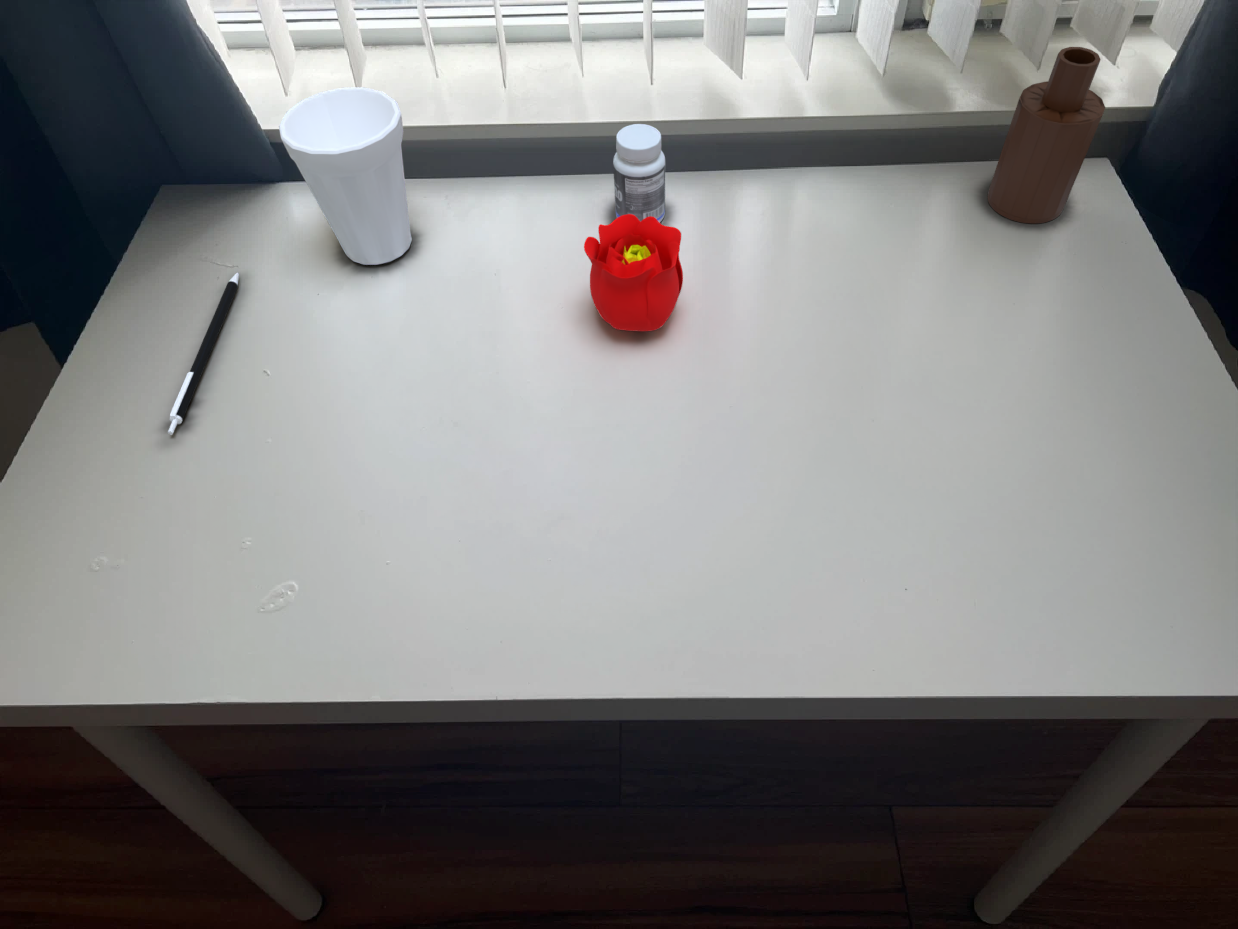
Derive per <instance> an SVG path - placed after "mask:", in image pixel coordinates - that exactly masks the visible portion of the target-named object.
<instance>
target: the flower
mask: <svg viewBox="0 0 1238 929" xmlns="http://www.w3.org/2000/svg"><path fill="white" fill-rule="evenodd" d="M597 228H598V237H599V238H596V237H594V236H587V237H586V238H585V241H584V243H583V250H584V253H585V254H586V256H587V258H588V259H589V261H590V263H591V266H590V273H589V289H590V295H591V299H592V302H593V305H594V306H595V309H596V310H597V312H598V314H599V316H600V317H601V318H602V320H603V321H605V322H606V323H607V324H608V325H610V326H611V327H612V328H613V329H615V330H619V331H620V330H621V331H629V332H652V331H657V330H658V329H660V328H662V327H663V326H664V325H665V323H666V322H667V321H668V320H669V318H670V317H671V315H672V313H673V311H674V309H675V307H676V305H677V303H678V299H679V296H680V294H681V292H682V288H683V283H684V273H683V272H684V271H683V267H682V263H681V260H680V249H681V247H680V246H681V242H682V232H681V230H679V229H678V228H677V227H674V226H668V225H664V224H662V223H661V222H660V223H659V222H658V220H657V219H656V218H655V217H652V216H650V217H647V218H645V219H643V220H642V221H641V222H640V221H639V219H638V218H637V217H636V216H635V215H633V214H626V215H622V216H620V217H618V218H617V217H615V219H614V220H612V222H611V223H609V224H601V223H600V224H598V227H597ZM598 239H599V240H598Z"/></svg>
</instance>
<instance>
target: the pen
mask: <svg viewBox="0 0 1238 929" xmlns="http://www.w3.org/2000/svg"><path fill="white" fill-rule="evenodd" d="M239 277H240V274H239V271H237V272H236V273H235V274H234V275H233V276H232V277H231V278H230V280H229V281H228V282H227V283H226V287H225V288H224V291H223V293H222V295H221V297H220V300H219V302H218V304H217V307H216V309H215V312H214V314H213V316H212V318H211V321H210V323H209V326H208V328H207V330H206V333H205V335H204V337H203V339H202V342H201V344H200V347H199V349H198V351H197V353H196V356H195V358H194V360H193V363H192V365H191V368H190V369H189V371H188V372H187V373H186V376H185V378H184V380H183V383H182V385H181V388H180V389H179V392H178V395H177V396H176V399H175V401H174V404H173V406H172V408H171V410H170V414H169V421H170V425H169V427H168V430H167V434H168V435H171V436H172V435H174V432H175V430H176V428H177V426H178V425H181V424H182V423H183V420H184V418H185V415H186V414H187V410H188V408H189V406H190V403H191V400H192V398H193V396H194V393H195V392H196V390H197V386H198V384H199V381H200V379H201V378H202V377H201V376H202V375H203V372H204V369H205V367H206V365H207V363H208V360H209V358H210V355H211V353H212V351H213V348H214V346H215V343H216V341H217V338H218V336H219V333H220V332H221V328H222V326H223V324H224V322H225V319H226V317H227V314H228V311H229V309H230V307H231V304H232V302H233V300H234V297H235V295H236V293H237V290H238V288H239Z"/></svg>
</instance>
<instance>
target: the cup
mask: <svg viewBox="0 0 1238 929" xmlns="http://www.w3.org/2000/svg"><path fill="white" fill-rule="evenodd" d="M278 130H279V135H280V140H281V141H282V143H283V145H284V148H285V149H286V152H287V154H288V155H289V157H290V159H291V160H292V161H293V162H294V164H295V165H296V167H297V169H298V171H299V172H300V175H301V176H302V177H303V179H304V181H305V183H306V185H307V186H308V188H309V190H310V192H311V194H312V196H313V197H314V199H315V201H316V203H317V205H318V206H319V209H320V210H321V212H322V214H323V216H324V217H325V219H326V221H327V223H328V225H329V227H330V228H331V230H332V232H333V234H334V236H335V238H336V239H337V241H338V243H339V245H340V246H341V248H342V250H343V252H344V254H345V255H346V257H347V258H349V259H350V260H351V261H352V262H354V263H358V264H361V265H364V266H365V265H366V266H368V265H370V266H371V265H372V266H373V265H374V266H376V265H377V266H378V265H382V264H387V263H390V262H393V261H394V260H396V259H398V258H400V257H402V256H403V255H404V254H405V253H406V252H407V251H408V250H409V249H410V247H411V243H412V241H413V238H412V234H411V226H410V216H409V208H408V207H409V206H408V197H407V188H406V179H405V169H404V158H403V150H402V143H403V136H404V133H405V132H404V124H403V117H402V111H401V108H400V106H399V103H398V101H397V100H395V99H394V98H392V97H391V96H390V95H388V94H387V93H385V92H384V91H382V90H381V91H380V90H377V89H373V88H369V87H363V86H362V87H361V86H359V87H358V86H357V87H356V86H355V87H353V86H351V87H339V88H333V89H329V90H324V91H320V92H317V93H315V94H313V95H310V96H309V97H306V98H304V99H301V100H300V101H298V102H297V103H296V104H295V105H293V106H292V107H290V109H288V110H287V111H286V112H285V114H284V116H283V118H282V120H281V122H280V123H279V126H278Z"/></svg>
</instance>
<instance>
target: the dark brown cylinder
mask: <svg viewBox="0 0 1238 929" xmlns="http://www.w3.org/2000/svg"><path fill="white" fill-rule="evenodd" d="M1100 62H1101V56H1100V55H1099V53H1097V52H1096V51H1094V50H1093V49H1090V48H1086V47H1082V46H1067V47H1064V48H1061V50H1059V52H1058V53H1057V55H1056V57H1055V61H1054V63H1053V67H1052V70H1051V72H1050V75H1049V78H1048V81H1041V82H1037V83H1033V84H1031V85H1029V86H1028V87H1026V88H1024V89H1022V91H1021V93H1020V95H1019V98H1018V101H1017V104H1016V107H1015V110H1014V113H1013V116H1012V120H1011V122H1010V125H1009V128H1008V131H1007V134H1006V136H1005V140H1004V143H1003V146H1002V149H1001V152H1000V155H999V158H998V161H997V164H996V167H995V170H994V173H993V176H992V180H991V181H990V185H989V188H988V192H987V201H988V204H989V206H990V207H991V208H992V209H993V211H994V212H995V213H997V214H998V215H1000V216H1002V217H1003V218H1005V219H1008V220H1011V221H1013V222H1018V223H1023V224H1031V225H1032V224H1035V225H1036V224H1037V225H1038V224H1044V223H1048V222H1051V221H1054V220H1055V219H1057V218H1058V217H1060V216H1061V214H1063V211H1064V209H1065V206H1066V204H1067V201H1068V199H1069V197H1070V194H1071V192H1072V190H1073V188H1074V185H1075V183H1076V180H1077V178H1078V175H1079V173H1080V170H1081V168H1082V165H1083V164H1084V161H1085V159H1086V156H1087V154H1088V151H1089V148H1090V146H1091V144H1092V142H1093V139H1094V137H1095V135H1096V132H1097V129H1098V127H1099V125H1100V122H1101V121H1102V118H1103V115H1104V112H1105V110H1106V105H1105V103H1104V100H1103V99H1102V97H1100V96H1099V95H1098V94H1097V93H1096V92H1094V91H1093V90H1091V85H1092V83H1093V81H1094V78H1095V75H1096V73H1097V70H1098V68H1099V65H1100Z"/></svg>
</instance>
